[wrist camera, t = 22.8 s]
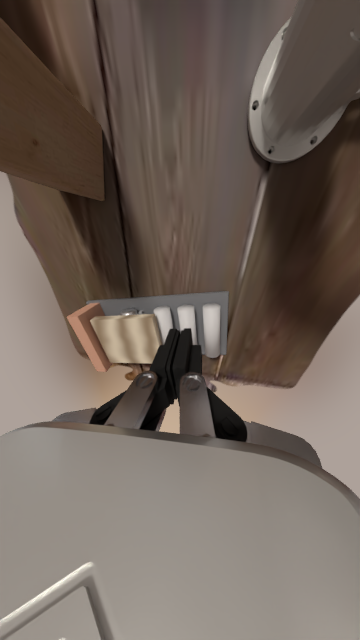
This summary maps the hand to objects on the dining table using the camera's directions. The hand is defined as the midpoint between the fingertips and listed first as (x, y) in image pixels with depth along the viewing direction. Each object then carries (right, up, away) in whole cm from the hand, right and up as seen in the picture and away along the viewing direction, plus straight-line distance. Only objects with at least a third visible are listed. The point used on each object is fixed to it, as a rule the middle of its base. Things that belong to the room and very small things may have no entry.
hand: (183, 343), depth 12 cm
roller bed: (-6, 0, +31) cm, 31 cm away
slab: (-13, -3, +27) cm, 30 cm away
